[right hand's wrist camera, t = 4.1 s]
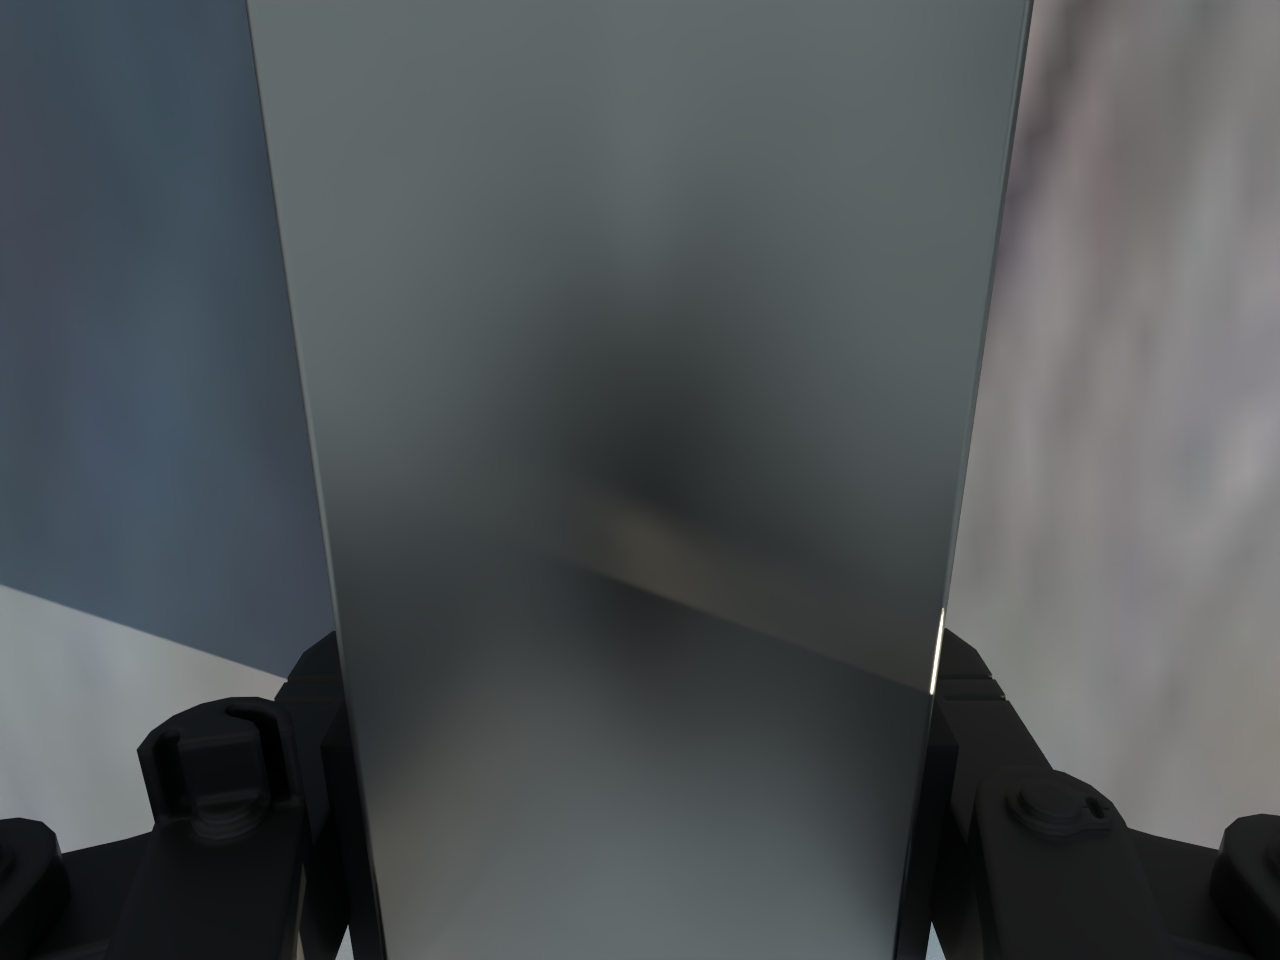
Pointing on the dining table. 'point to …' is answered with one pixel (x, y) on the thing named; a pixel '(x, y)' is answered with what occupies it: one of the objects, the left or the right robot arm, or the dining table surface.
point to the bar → (639, 446)
